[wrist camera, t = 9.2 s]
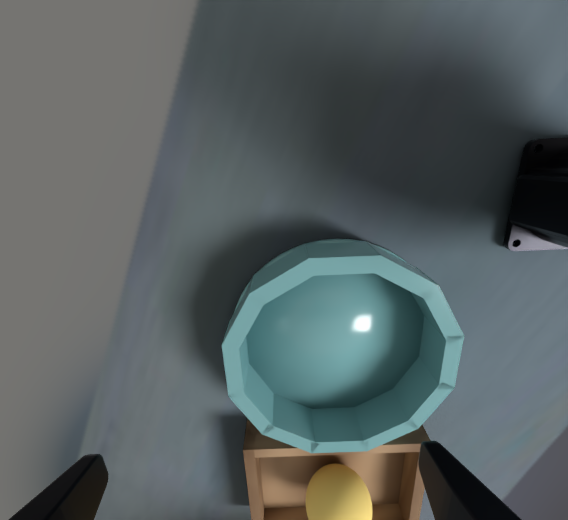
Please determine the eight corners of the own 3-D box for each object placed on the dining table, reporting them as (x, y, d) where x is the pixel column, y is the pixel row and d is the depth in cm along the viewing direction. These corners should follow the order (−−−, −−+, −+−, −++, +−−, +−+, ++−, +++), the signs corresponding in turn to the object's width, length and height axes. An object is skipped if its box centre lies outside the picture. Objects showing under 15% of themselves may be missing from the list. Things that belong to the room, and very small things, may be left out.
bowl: (447, 233, 18) (482, 249, 15) (421, 409, 23) (444, 449, 20) (221, 243, 19) (208, 260, 15) (241, 415, 23) (235, 457, 20)
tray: (416, 413, 23) (431, 443, 21) (403, 501, 27) (416, 536, 24) (247, 419, 23) (242, 450, 21) (256, 506, 27) (254, 541, 24)
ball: (362, 446, 24) (385, 518, 19) (359, 488, 25) (380, 563, 21) (301, 451, 24) (309, 524, 19) (303, 492, 25) (310, 569, 21)
